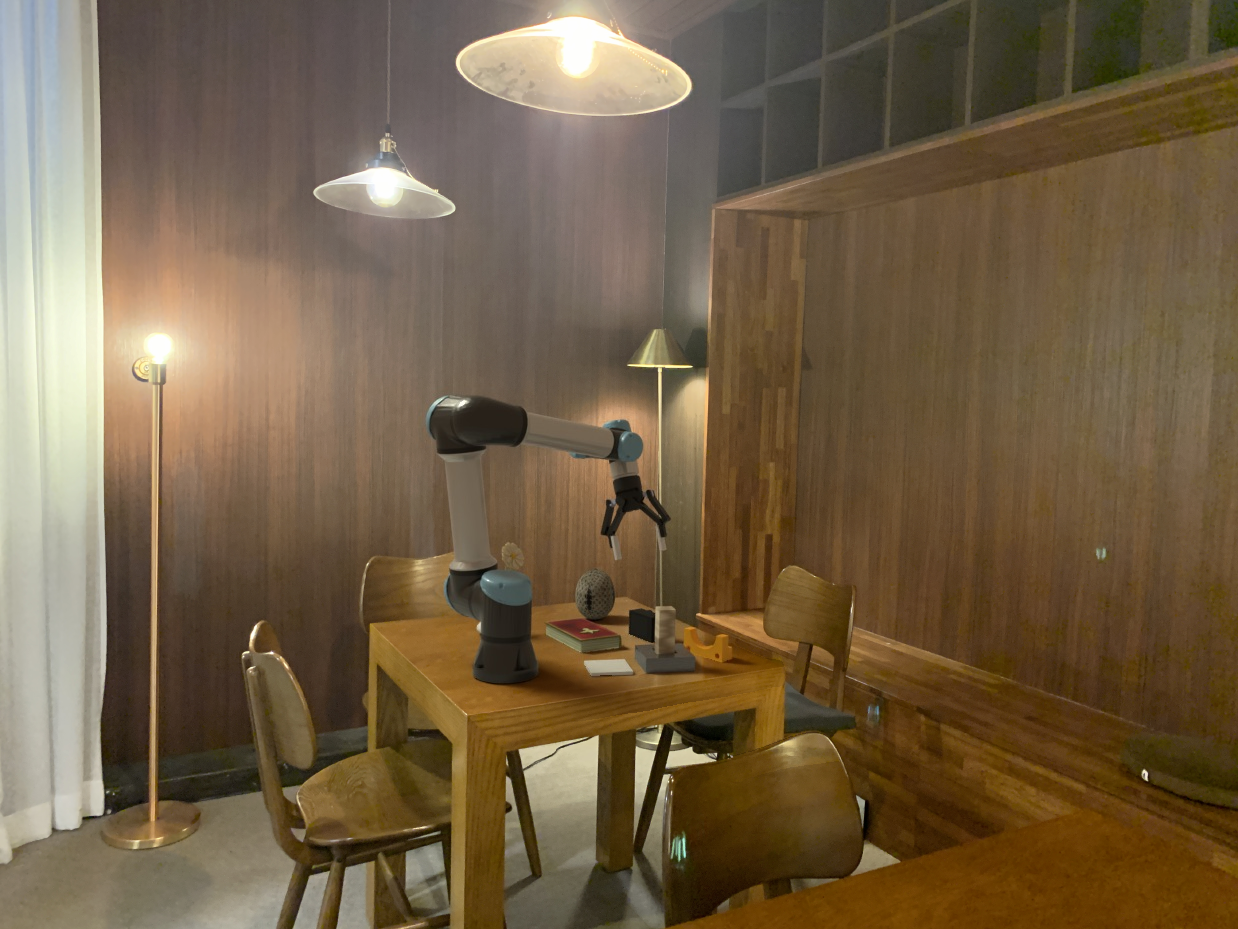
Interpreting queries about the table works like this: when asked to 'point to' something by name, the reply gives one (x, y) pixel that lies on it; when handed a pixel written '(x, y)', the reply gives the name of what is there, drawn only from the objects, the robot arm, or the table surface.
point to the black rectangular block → (642, 624)
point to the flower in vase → (510, 561)
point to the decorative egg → (595, 594)
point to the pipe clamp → (714, 652)
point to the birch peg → (665, 630)
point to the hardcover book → (583, 635)
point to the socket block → (664, 659)
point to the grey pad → (608, 667)
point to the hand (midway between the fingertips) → (640, 555)
